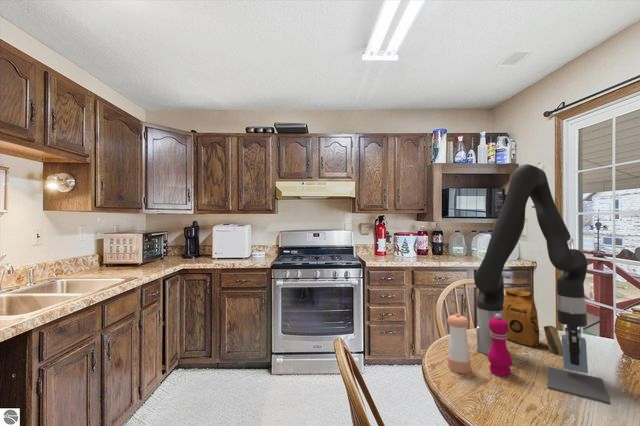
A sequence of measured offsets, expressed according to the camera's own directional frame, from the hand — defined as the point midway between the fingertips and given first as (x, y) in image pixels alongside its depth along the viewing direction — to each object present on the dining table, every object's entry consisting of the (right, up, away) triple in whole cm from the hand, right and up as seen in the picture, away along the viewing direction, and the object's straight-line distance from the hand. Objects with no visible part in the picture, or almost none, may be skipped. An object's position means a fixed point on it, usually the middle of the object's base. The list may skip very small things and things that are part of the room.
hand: (574, 361), depth 99 cm
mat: (-3, -5, -4) cm, 7 cm away
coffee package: (+3, -7, +30) cm, 31 cm away
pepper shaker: (-35, -6, +7) cm, 36 cm away
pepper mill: (-22, -6, +4) cm, 23 cm away
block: (0, -2, 0) cm, 2 cm away
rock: (+11, -6, +21) cm, 25 cm away
